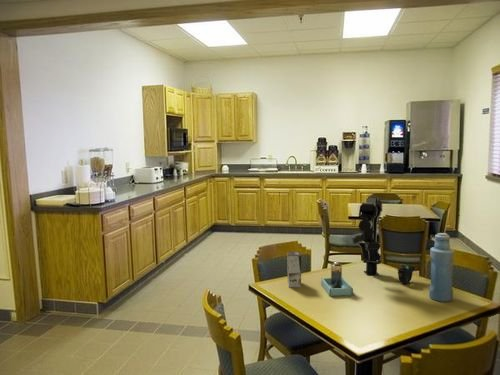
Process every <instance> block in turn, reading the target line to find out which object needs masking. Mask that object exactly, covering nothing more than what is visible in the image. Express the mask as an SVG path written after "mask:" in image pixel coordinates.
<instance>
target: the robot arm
mask: <svg viewBox="0 0 500 375" xmlns="http://www.w3.org/2000/svg"><path fill="white" fill-rule="evenodd" d="M358 211H359V213H358V218H361V220H360V221H359V223H358V229H359V232H358V233H354V234H353V235H350V236H349V237H350V242H351V243H353V244H354V245H355V244H357V245H359V247H360V251H361V253H362V262H363V263H364V264H366V265H365V270H363V273H365V275H367V276H379V275H380V273H379V272H378V265H381V264H382V257H381V254H380V252H379V250H380V249H381V243H380V242H378V241H377V236H378V223H379V222H378V221H379V220H378V219H379V218H380V217H381V215H382V212H383V201H381V200H380V199H379V197H377V196H370V195H369V196H368V197H367V200H366V202H362V203H361V204H360V205H359V210H358Z"/></svg>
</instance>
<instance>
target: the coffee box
mask: <svg viewBox="0 0 500 375" xmlns="http://www.w3.org/2000/svg"><path fill="white" fill-rule="evenodd" d="M286 253H287V255H286V256H287V257H286V258H287V260H286V261H287V264H286V266H287V270H286V272H287V286H288V287H289V288H302V254H301V252H300V251H297V250H296V251H287V252H286Z"/></svg>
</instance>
